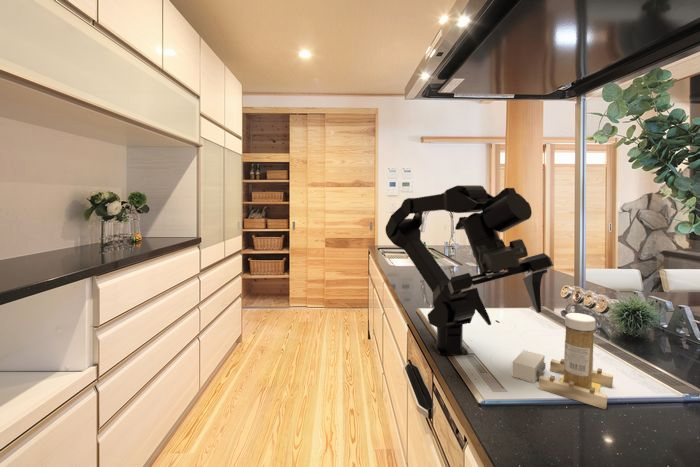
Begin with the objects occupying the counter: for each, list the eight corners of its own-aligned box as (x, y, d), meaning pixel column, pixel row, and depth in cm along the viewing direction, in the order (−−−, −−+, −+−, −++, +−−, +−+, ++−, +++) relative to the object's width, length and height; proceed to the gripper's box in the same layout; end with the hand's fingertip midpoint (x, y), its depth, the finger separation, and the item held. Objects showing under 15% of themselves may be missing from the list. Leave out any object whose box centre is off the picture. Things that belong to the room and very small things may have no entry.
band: (555, 389, 63) (555, 388, 63) (563, 374, 68) (563, 374, 68) (595, 402, 59) (595, 401, 59) (601, 385, 64) (601, 384, 64)
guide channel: (538, 388, 64) (539, 374, 64) (551, 368, 71) (552, 356, 71) (605, 409, 57) (606, 394, 57) (612, 385, 64) (613, 372, 64)
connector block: (512, 376, 68) (512, 361, 68) (523, 363, 73) (523, 349, 73) (537, 384, 65) (537, 368, 65) (546, 370, 70) (547, 356, 70)
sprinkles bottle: (596, 388, 63) (600, 317, 62) (585, 397, 60) (589, 322, 59) (569, 378, 67) (572, 310, 65) (557, 385, 64) (560, 315, 63)
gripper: (442, 243, 63) (472, 329, 58) (546, 215, 61) (585, 301, 56) (438, 257, 73) (462, 331, 68) (526, 233, 72) (558, 307, 67)
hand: (514, 318), depth 65 cm, fingers open, 9 cm apart
